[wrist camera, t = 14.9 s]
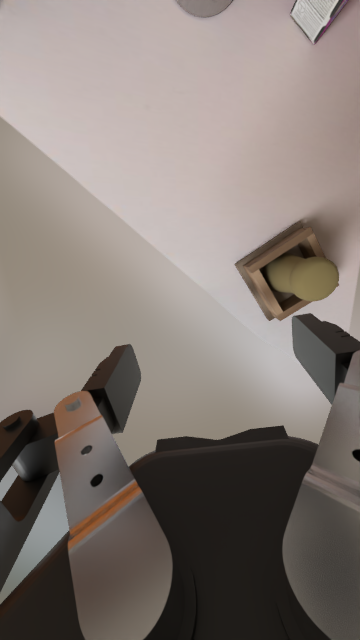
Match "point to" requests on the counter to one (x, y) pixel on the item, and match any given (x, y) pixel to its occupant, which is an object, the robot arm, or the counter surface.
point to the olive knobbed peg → (301, 276)
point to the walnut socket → (251, 266)
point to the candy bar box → (315, 15)
